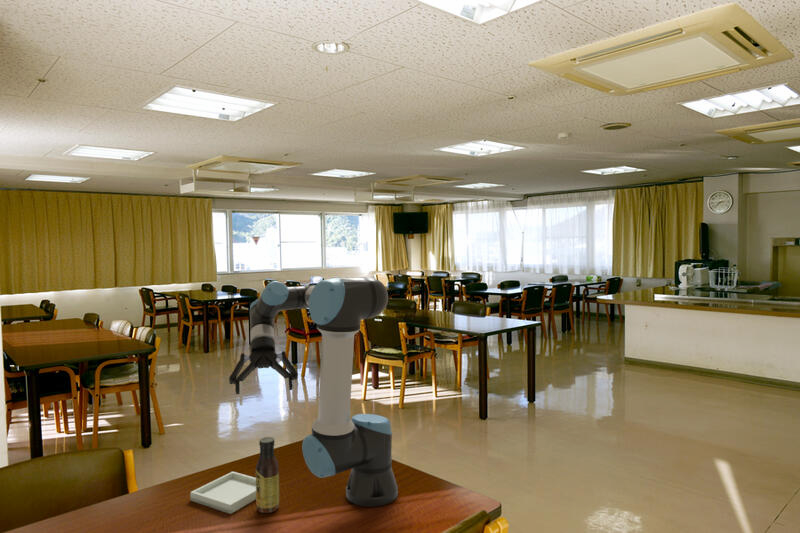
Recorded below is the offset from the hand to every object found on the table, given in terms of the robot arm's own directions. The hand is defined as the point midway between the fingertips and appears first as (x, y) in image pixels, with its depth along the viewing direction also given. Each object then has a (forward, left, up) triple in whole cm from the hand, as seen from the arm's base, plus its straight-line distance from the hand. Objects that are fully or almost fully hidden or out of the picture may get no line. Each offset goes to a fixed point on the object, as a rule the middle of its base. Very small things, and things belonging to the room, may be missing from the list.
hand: (264, 401), depth 157 cm
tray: (+7, +6, -27) cm, 29 cm away
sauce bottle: (-8, +7, -28) cm, 30 cm away
